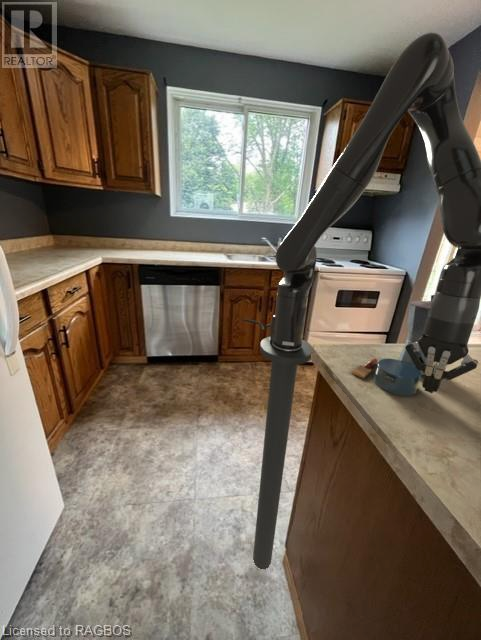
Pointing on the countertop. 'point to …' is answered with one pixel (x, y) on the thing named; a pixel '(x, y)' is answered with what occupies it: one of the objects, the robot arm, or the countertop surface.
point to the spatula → (364, 369)
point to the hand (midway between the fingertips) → (429, 390)
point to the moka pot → (416, 328)
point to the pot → (397, 376)
